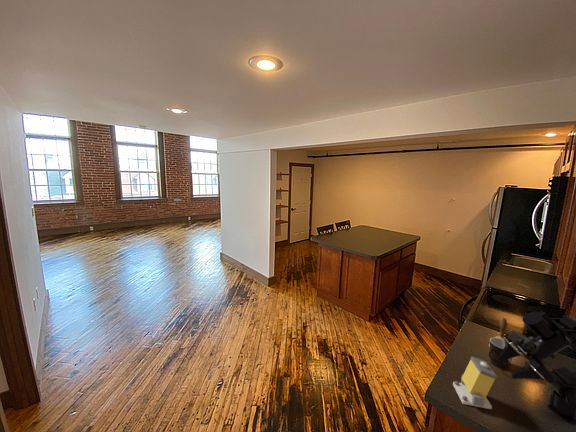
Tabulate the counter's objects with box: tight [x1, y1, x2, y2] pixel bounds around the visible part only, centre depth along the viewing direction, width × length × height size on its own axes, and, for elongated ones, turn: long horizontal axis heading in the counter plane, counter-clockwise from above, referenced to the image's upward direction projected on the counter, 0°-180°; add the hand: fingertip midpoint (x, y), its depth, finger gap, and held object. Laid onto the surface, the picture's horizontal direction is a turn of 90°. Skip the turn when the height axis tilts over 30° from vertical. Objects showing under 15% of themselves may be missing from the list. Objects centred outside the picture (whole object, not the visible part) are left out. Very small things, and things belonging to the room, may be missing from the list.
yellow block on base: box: [462, 356, 498, 399], centre depth 92 cm, size 5×8×13 cm, turn 166°
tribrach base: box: [452, 374, 493, 410], centre depth 94 cm, size 9×11×4 cm
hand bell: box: [488, 317, 508, 348], centre depth 119 cm, size 8×8×16 cm
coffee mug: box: [488, 337, 513, 371], centre depth 110 cm, size 12×9×10 cm
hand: (505, 368), depth 90 cm, fingers open, 8 cm apart
